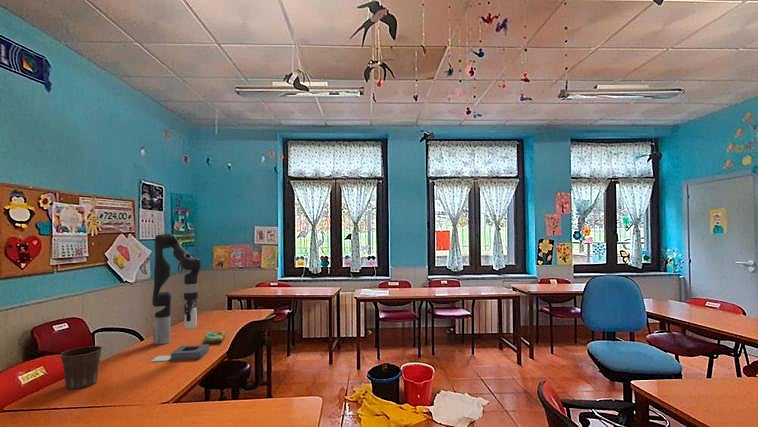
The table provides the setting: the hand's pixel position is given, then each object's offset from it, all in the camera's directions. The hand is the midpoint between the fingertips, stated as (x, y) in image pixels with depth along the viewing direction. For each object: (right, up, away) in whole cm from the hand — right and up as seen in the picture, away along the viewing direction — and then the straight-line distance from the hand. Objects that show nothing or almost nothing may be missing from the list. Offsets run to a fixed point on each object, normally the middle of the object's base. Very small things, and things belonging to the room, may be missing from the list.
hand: (190, 319), depth 235 cm
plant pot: (-32, -20, -44) cm, 58 cm away
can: (0, -5, 0) cm, 5 cm away
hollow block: (0, -21, -1) cm, 21 cm away
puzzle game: (+1, -23, +31) cm, 39 cm away
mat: (-13, -21, -7) cm, 25 cm away
